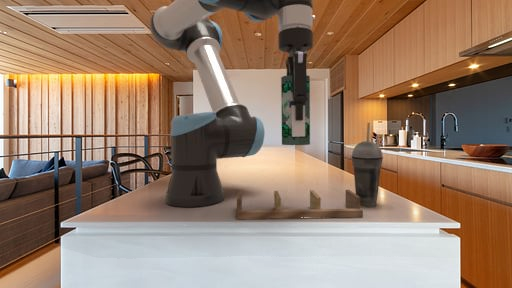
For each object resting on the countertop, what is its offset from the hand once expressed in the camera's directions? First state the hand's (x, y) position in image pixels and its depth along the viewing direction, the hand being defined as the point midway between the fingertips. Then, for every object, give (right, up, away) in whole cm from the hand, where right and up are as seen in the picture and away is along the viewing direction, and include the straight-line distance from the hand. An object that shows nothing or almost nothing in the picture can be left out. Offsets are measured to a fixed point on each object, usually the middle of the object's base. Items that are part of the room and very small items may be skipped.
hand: (296, 135), depth 68 cm
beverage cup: (+18, -17, +6) cm, 26 cm away
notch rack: (0, -17, +1) cm, 17 cm away
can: (0, -2, 0) cm, 2 cm away
